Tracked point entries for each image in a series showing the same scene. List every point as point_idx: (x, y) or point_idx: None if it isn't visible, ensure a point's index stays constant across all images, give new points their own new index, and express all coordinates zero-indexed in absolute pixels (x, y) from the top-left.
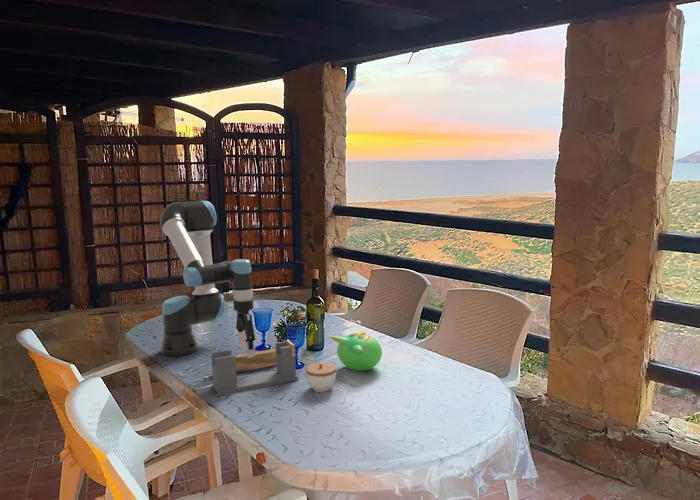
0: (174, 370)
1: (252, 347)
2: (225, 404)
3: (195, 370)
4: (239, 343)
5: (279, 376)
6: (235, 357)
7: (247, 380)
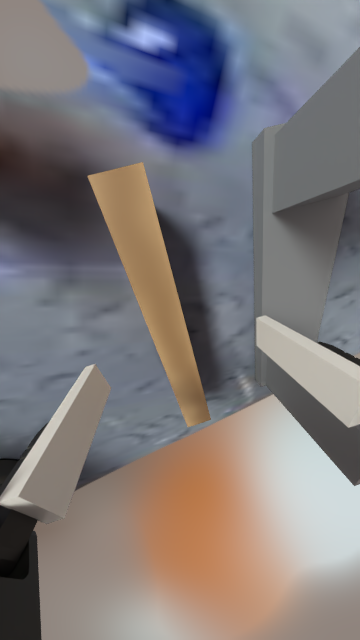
0: (145, 451)
1: (337, 352)
2: (345, 347)
3: (153, 424)
4: (101, 409)
5: (320, 207)
6: (194, 379)
7: (291, 317)
